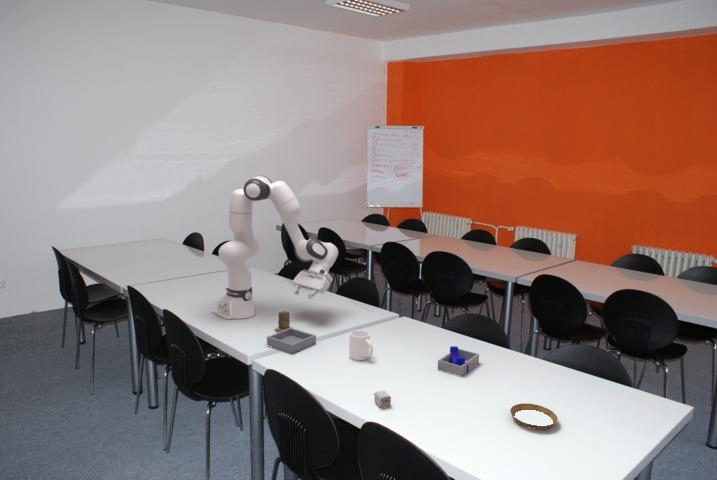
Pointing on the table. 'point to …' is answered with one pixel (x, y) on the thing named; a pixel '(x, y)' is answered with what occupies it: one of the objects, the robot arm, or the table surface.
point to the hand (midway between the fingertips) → (302, 295)
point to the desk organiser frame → (456, 369)
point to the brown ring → (537, 408)
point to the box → (291, 340)
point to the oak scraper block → (283, 321)
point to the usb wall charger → (382, 399)
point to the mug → (360, 345)
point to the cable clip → (456, 357)
